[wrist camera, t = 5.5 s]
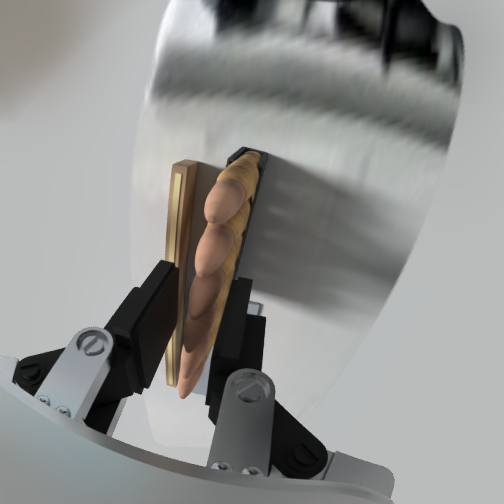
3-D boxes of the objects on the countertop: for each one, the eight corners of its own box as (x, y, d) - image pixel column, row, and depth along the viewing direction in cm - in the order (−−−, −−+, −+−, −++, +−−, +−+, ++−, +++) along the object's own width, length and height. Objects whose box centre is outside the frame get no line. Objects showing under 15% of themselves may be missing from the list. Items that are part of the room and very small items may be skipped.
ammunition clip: (233, 284, 22) (199, 412, 12) (211, 278, 22) (162, 401, 12) (268, 153, 18) (253, 194, 7) (241, 146, 18) (184, 177, 7)
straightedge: (185, 159, 18) (171, 164, 16) (198, 161, 18) (187, 167, 16) (173, 368, 28) (166, 385, 26) (181, 370, 28) (175, 388, 26)
